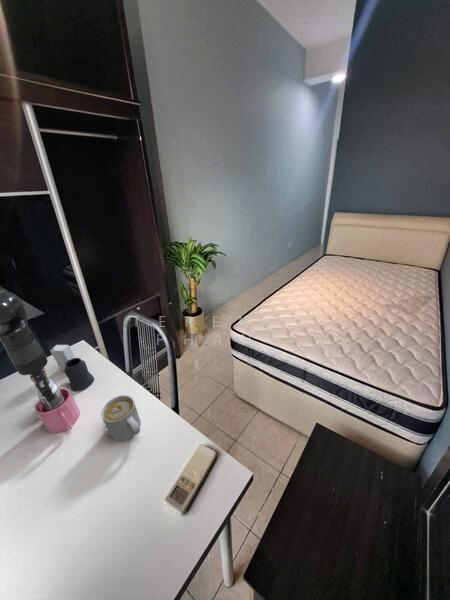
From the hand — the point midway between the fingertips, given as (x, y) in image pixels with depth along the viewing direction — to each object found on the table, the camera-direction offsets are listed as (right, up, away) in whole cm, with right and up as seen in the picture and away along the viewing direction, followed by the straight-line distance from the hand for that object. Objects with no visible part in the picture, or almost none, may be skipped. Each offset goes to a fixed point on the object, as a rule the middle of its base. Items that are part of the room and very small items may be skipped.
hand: (49, 394), depth 82 cm
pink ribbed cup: (+2, -12, +5) cm, 13 cm away
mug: (-2, -3, +22) cm, 22 cm away
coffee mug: (+26, -13, +1) cm, 29 cm away
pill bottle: (0, -5, +3) cm, 6 cm away
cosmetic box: (-12, 0, +29) cm, 31 cm away
